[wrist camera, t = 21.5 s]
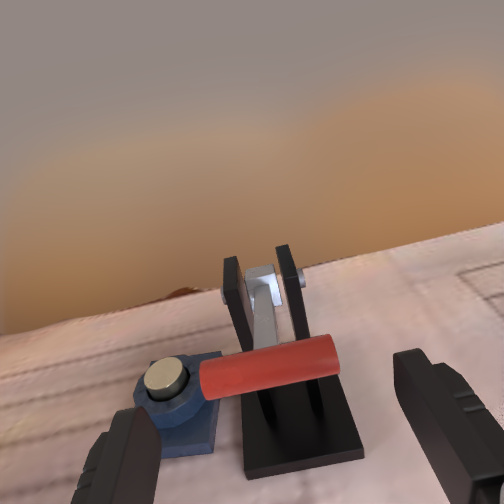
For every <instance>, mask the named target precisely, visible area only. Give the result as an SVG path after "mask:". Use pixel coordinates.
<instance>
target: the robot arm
mask: <svg viewBox="0 0 504 504" xmlns="http://www.w3.org/2000/svg"><path fill="white" fill-rule="evenodd" d="M393 368H394V388H395V392H396V396H397V399H398V401H399V404H400V406H401V408H402V410H403V412H404V414H405V416H406V418H407V420H408V422H409V424H410V426H411V428H412V430H413V431H414V433H415V435H416V437H417V439H418V441H419V443H420V445H421V447H422V449H423V451H424V453H425V455H426V457H427V459H428V461H429V463H430V465H431V467H432V469H433V470H434V472H435V474H436V476H437V478H438V480H439V482H440V484H441V486H442V488H443V490H444V492H445V494H446V496H447V498H448V500H449V502H450V504H504V430H503V429H502V427H501V426H500V425H499V424H498V422H497V421H496V420H495V418H494V417H493V416H492V414H491V413H490V412H489V410H488V409H486V408H485V405H484V404H483V403H482V401H481V400H480V399H479V397H478V396H477V395H475V393H474V391H473V390H472V388H471V387H470V386H469V384H468V383H467V382H466V380H465V379H464V378H463V376H462V375H461V374H459V373H458V372H456V371H455V370H454V369H452V368H451V367H449V366H448V365H447V364H445V363H444V362H443V363H439V364H434V365H432V364H431V362H430V361H429V359H428V358H427V357H426V355H425V354H424V352H423V351H422V350H421V349H419V348H416V349H412V350H407V351H402V352H397V353H394V354H393ZM161 454H162V441H161V437H160V434H159V432H158V430H157V428H156V427H155V425H154V423H153V422H152V420H151V418H150V417H149V415H148V413H147V412H146V410H145V408H144V407H143V406H138V407H134V408H129V409H124V410H119V411H117V412H116V413H115V415H114V418H113V420H112V423H111V427H110V430H109V431H108V432H103V433H101V435H100V436H99V438H98V439H97V441H96V442H95V444H94V445H93V447H92V448H91V449H90V451H89V454H88V457H87V459H86V462H85V465H84V468H83V473H82V474H81V476H80V479H79V482H78V484H77V490H75V493H74V495H73V498H72V501H71V504H153V501H154V495H155V490H156V484H157V478H158V472H159V466H160V461H161Z"/></svg>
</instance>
